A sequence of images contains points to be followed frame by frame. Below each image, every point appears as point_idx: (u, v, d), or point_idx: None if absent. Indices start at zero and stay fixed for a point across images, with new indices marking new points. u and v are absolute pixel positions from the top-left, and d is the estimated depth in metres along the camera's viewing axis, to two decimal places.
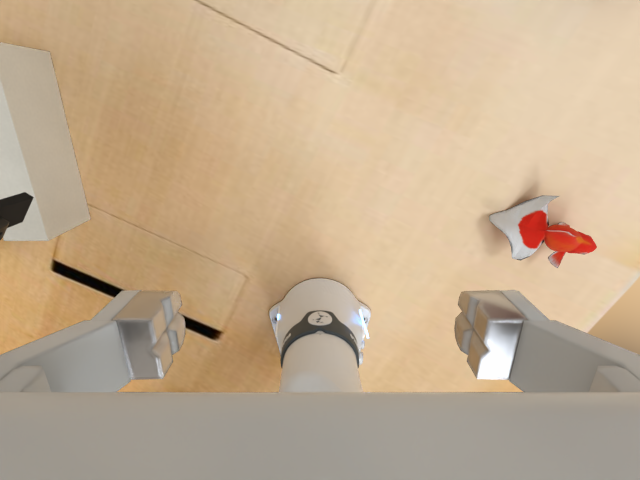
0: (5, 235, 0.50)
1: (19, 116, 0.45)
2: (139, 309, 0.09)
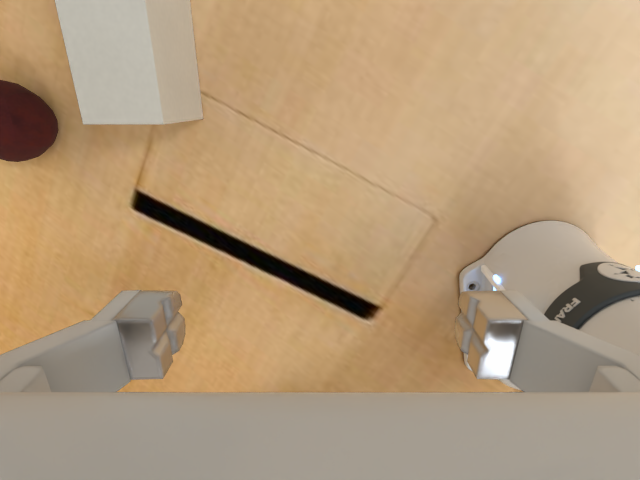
0: (86, 113, 0.27)
1: None
2: (139, 309, 0.09)
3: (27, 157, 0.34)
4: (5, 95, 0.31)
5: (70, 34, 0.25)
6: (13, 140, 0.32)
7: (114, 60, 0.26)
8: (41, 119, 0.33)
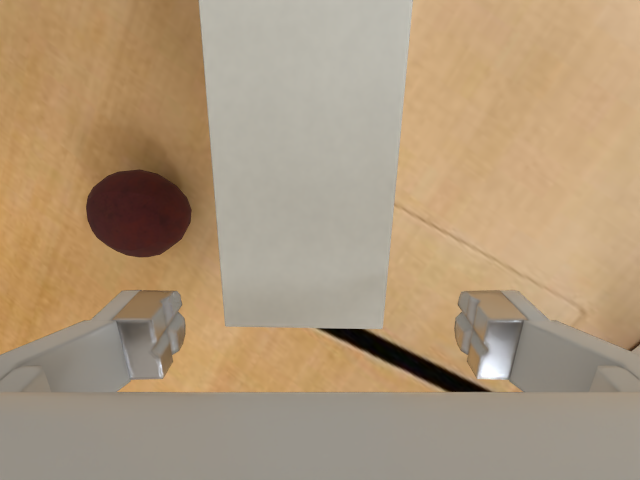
0: (235, 309, 0.14)
1: None
2: (139, 309, 0.09)
3: (160, 253, 0.30)
4: (154, 193, 0.27)
5: (229, 172, 0.12)
6: (156, 241, 0.28)
7: (311, 221, 0.13)
8: (183, 213, 0.29)
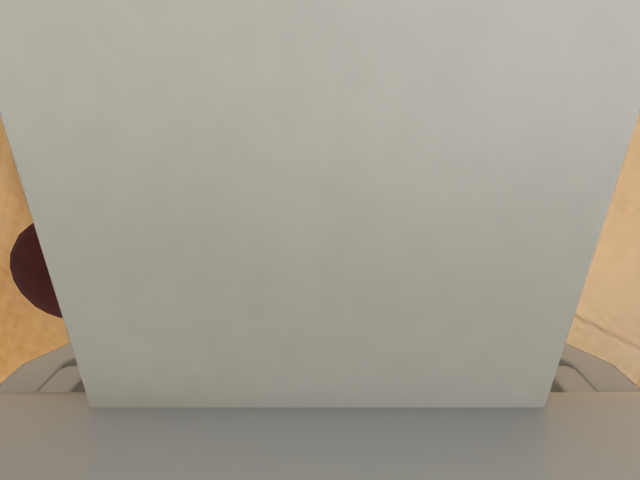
0: None
1: None
2: None
3: None
4: None
5: (120, 365, 0.05)
6: None
7: None
8: None
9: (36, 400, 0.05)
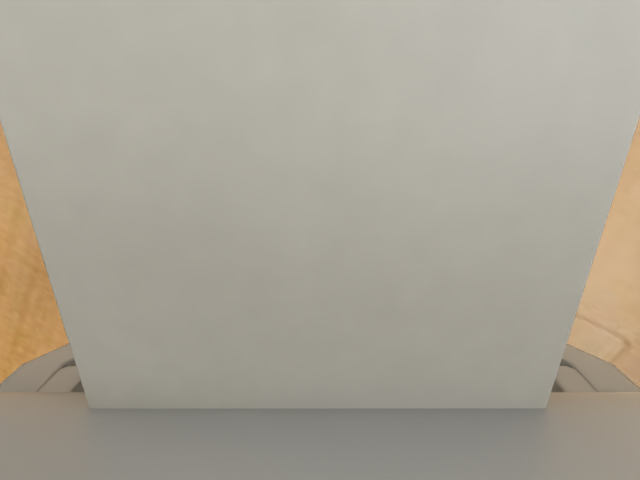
0: None
1: None
2: None
3: None
4: None
5: (120, 366, 0.05)
6: None
7: None
8: None
9: (36, 400, 0.05)
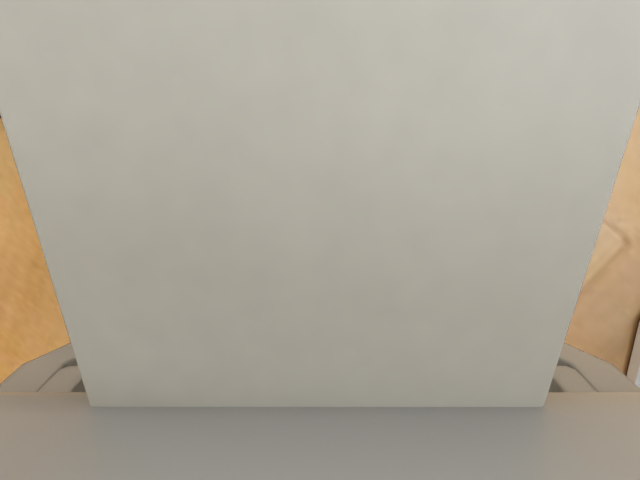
0: None
1: None
2: None
3: None
4: None
5: (120, 364, 0.05)
6: None
7: None
8: None
9: (36, 400, 0.05)
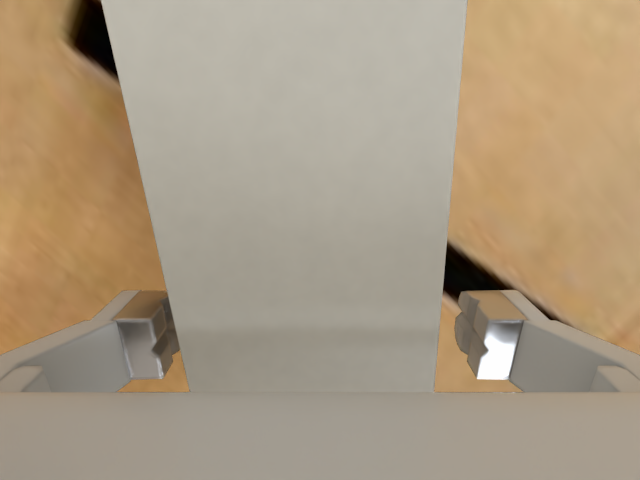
0: None
1: None
2: (139, 309, 0.09)
3: None
4: None
5: (201, 336, 0.08)
6: None
7: (321, 386, 0.09)
8: None
9: (36, 400, 0.05)
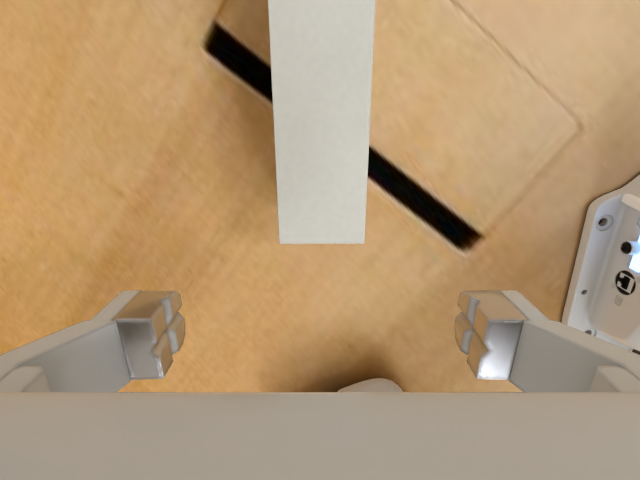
0: (285, 233, 0.26)
1: None
2: (139, 309, 0.09)
3: None
4: None
5: (284, 160, 0.24)
6: None
7: (325, 184, 0.24)
8: None
9: (36, 400, 0.05)
